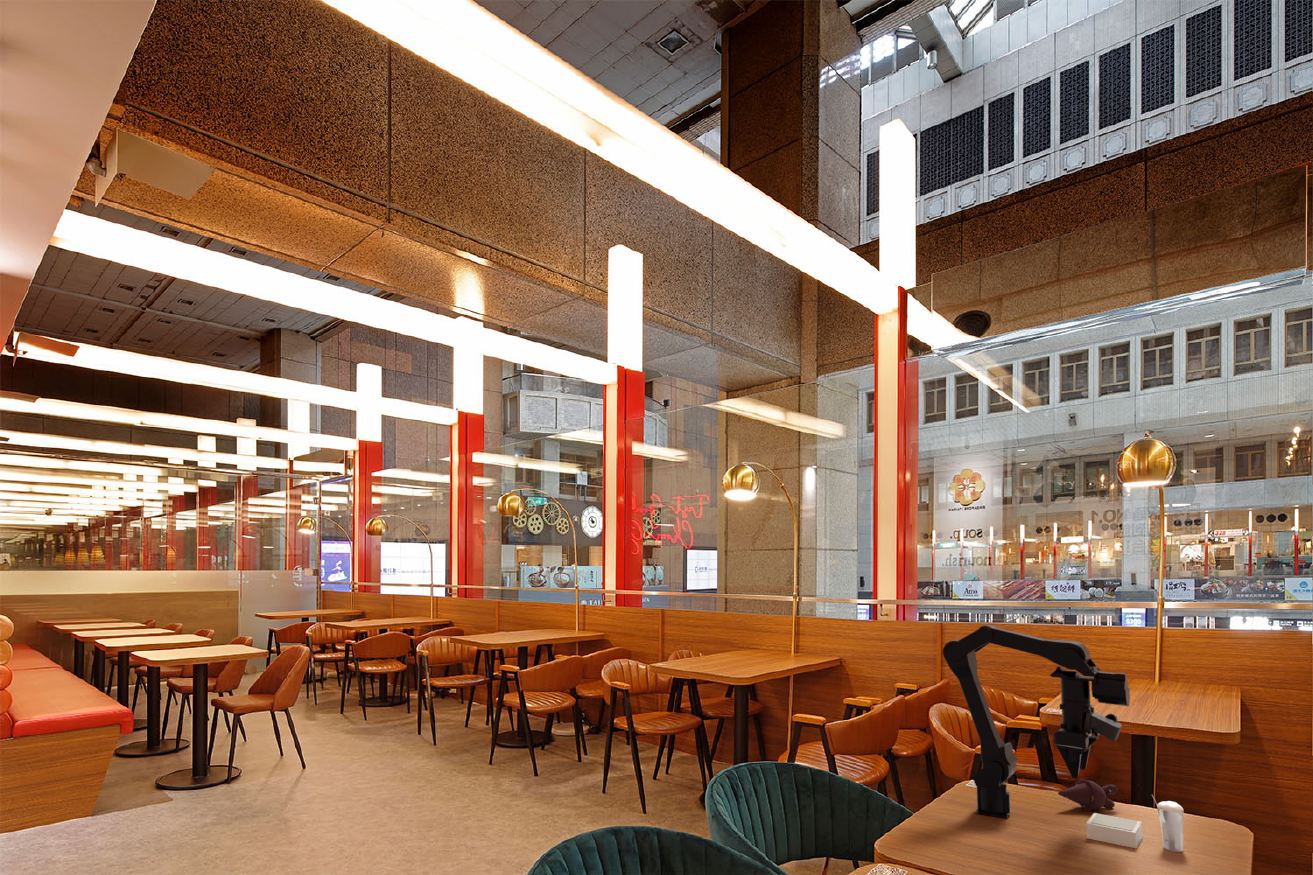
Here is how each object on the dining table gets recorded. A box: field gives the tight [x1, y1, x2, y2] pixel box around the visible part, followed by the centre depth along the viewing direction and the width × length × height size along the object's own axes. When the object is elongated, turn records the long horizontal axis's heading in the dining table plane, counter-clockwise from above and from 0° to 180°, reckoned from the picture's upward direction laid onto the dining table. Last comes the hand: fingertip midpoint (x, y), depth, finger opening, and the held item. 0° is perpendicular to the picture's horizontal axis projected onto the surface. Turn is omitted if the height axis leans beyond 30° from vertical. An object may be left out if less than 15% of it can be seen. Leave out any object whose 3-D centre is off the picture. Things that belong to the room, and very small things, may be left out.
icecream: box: [1057, 778, 1119, 812], centre depth 186 cm, size 7×7×15 cm
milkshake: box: [1151, 794, 1184, 853], centre depth 161 cm, size 4×5×10 cm
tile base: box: [1085, 812, 1143, 849], centre depth 167 cm, size 9×9×3 cm
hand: (1079, 773), depth 172 cm, fingers open, 9 cm apart
